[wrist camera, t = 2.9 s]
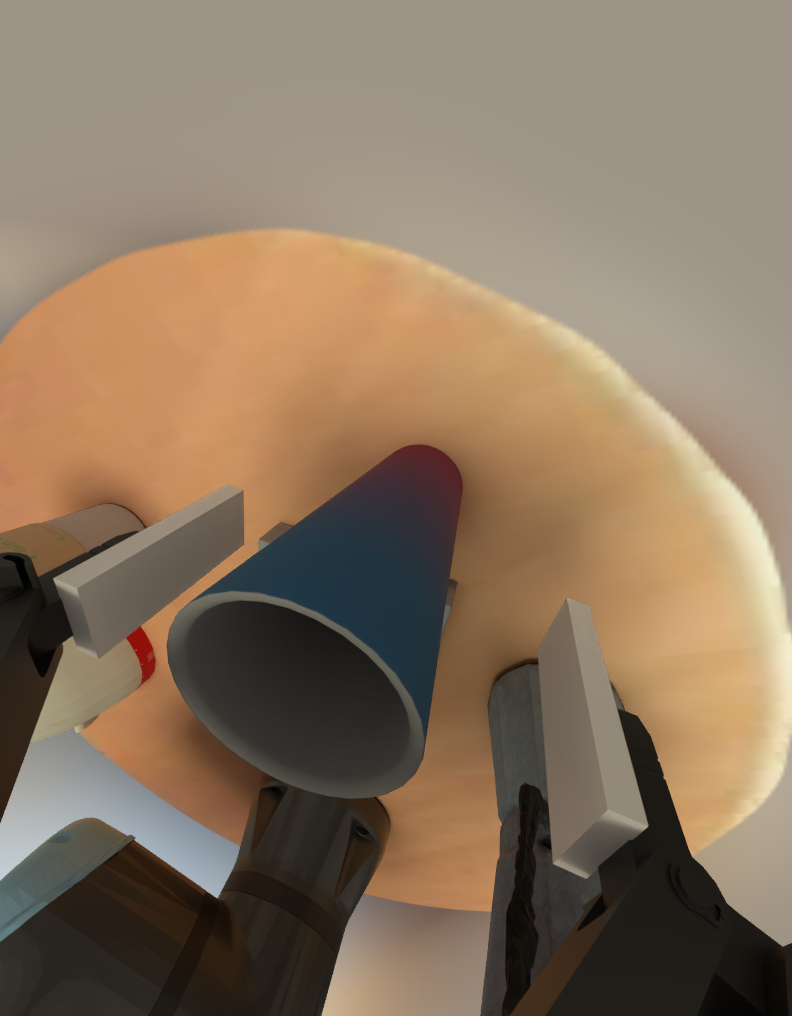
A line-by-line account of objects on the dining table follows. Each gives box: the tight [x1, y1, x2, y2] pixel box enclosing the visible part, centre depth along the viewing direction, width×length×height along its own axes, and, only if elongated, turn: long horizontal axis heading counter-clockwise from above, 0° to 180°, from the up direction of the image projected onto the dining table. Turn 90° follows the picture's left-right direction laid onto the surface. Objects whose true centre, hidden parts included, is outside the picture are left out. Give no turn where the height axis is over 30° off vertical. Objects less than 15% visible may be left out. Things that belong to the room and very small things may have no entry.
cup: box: [167, 445, 462, 799], centre depth 15 cm, size 7×7×15 cm
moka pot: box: [480, 664, 625, 1016], centre depth 17 cm, size 10×15×20 cm, turn 32°
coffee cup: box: [0, 504, 145, 577], centre depth 25 cm, size 9×9×15 cm
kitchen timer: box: [30, 627, 155, 743], centre depth 33 cm, size 14×14×15 cm
